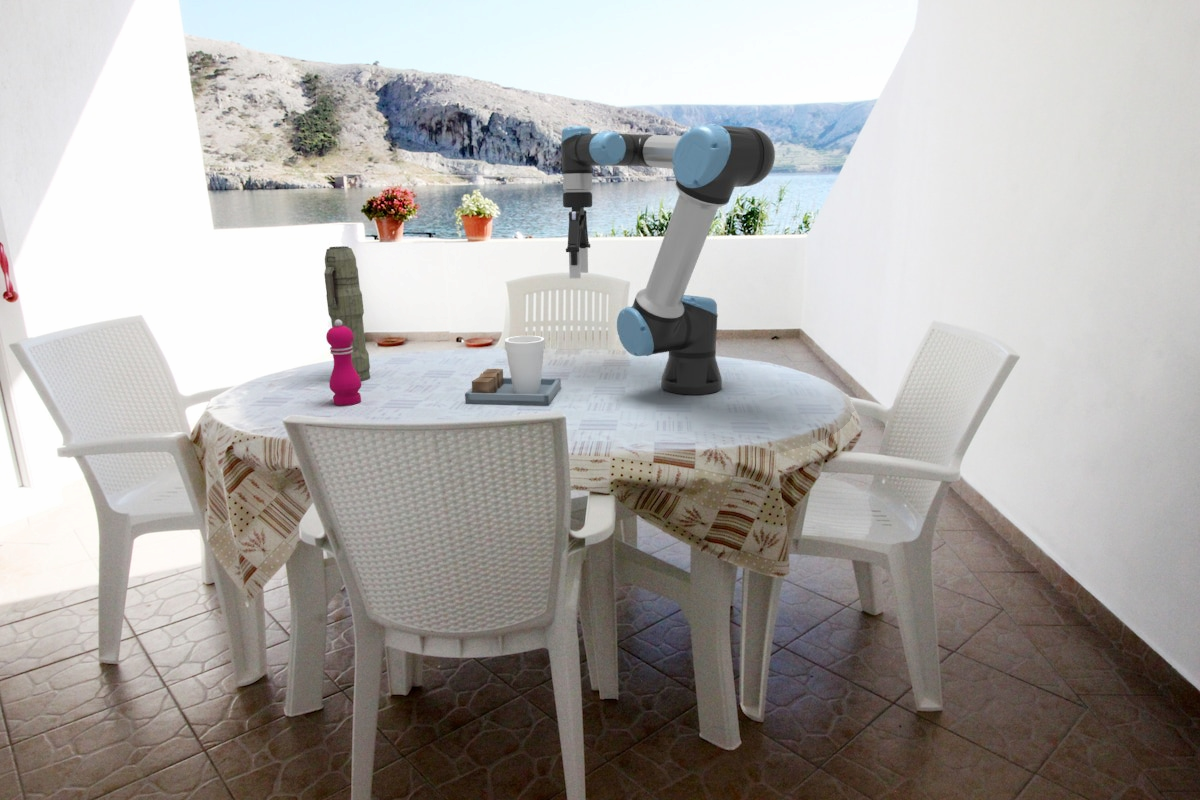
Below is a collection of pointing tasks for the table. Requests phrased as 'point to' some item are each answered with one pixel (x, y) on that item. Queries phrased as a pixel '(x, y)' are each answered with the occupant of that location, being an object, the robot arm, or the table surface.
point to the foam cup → (525, 362)
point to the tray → (508, 396)
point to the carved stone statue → (347, 302)
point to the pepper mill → (343, 366)
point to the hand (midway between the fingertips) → (579, 275)
